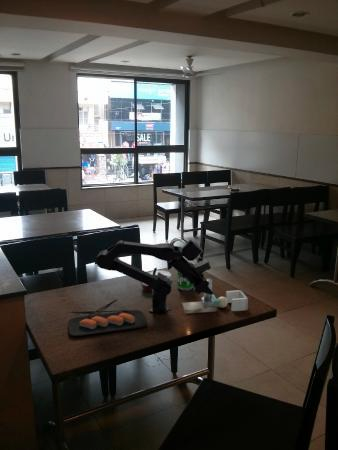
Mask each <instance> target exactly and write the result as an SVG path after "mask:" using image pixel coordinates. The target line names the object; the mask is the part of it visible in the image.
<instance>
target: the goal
mask: <svg viewBox="0 0 338 450" xmlns="http://www.w3.org/2000/svg"><path fill="white" fill-rule="evenodd" d="M225 298H226V299H227V301H228V303H227V304H230V303H231V308H230V309H231V312H240V311H248V308H249V306H248V305H249V298H248V297H247V296H246V294H245V293H244V292H243V291H242V290H239V289H237V290H227V291H225Z"/></svg>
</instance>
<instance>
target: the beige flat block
mask: <svg viewBox="0 0 338 450" xmlns="http://www.w3.org/2000/svg"><path fill="white" fill-rule="evenodd" d="M181 307H182V309H183V311H184V313H185V314H196V313H197V314H199V313H211V312H218V308H217V307H218V306H217V307H214V306H210V307H204V306H203V305H202V303H201V301H190V302H181Z"/></svg>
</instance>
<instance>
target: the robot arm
mask: <svg viewBox="0 0 338 450" xmlns="http://www.w3.org/2000/svg"><path fill="white" fill-rule="evenodd" d="M203 252H204V251H203V248H202V247H201V246H200V245H199V244H198V243H196V242H195V241H193V240H192V239H188V241H187V242H186V243H185V245H183V246H177V245H173V244H171V243H169V242H165V243H164V242H163V243H156V244H150V243H141V242H133V241H127V240H126V241H125V240H118V241H117V242H116V243H115V244H113V245H110V246H109V247H108V248H107V249H103V250H100V251H99V253H98V255H97V257H96V259H95V260H96V261H95V263H96V266H97V267H98V268H100V269H102V270H106V271H113V272H115V271H116V272H118V273H121V274H122V275H124V276H127V277H129V278H131V279H133V280H135V281H138V282H140V283H141V282H142V283H144V284H147V285H148V286H150V287H151V288H152V292H151V297H152V298H151V304H152V305H151V306H152V307H151V308H150V309H149V310H148V312H149V313H153V314H157V315H158V314H159V315H164V314H165V313H167V312H168V311H169V310H170V307H168V306H167V297H168V295H170V294H171V292H172V282H171V281H172V280H171V281H170V279H169V278H167V276H166V275H163V274H161V273H159V272H158V275H152V274H150V272H147V271H145V270H143V269H141V268H138V267H137V266H134V265H132V264H130V263H128V262H126V261H123V260H121V259H120V258H119V256H120V255H122V253H125V254H134V255H142V256H151V257H154V258H156V259H158V260H162V261H165V262H166V266H167V270H168V271H170V270H171V269H172V268H173V269H174V270H176V271H177V273H178V272H179V273H180V274H181V275H182V277H183V278H186V279H187V280H188V281H189V283H190V284H191V285H192V284H193V288H192V289H193V291H194V293H195V294H197V295H198V296H199V295H201V294H202V293H203V294H204V293H207V294H210V295H214V292H213V290H212V291H211V289H210V288H209V287H208V285H209V282H208V281H207V279H206V277H204V272H206V271H209V270H210V269H212V267H211V265H210V263H209V260H208V259H207V258H205V257H204V258H203V257H201V256H199V255H200V254H202V253H203ZM194 260H196V262H195V263H194V264H193V263H192V262H191V261H194ZM189 262H190V263H189Z"/></svg>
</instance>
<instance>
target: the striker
mask: <svg viewBox="0 0 338 450" xmlns="http://www.w3.org/2000/svg"><path fill="white" fill-rule="evenodd" d="M205 279H207V281H208V282H209V285H208V287H209V288H210V289H211V291H212V292H213V279H212V278H206V277H205ZM217 299H218V298H217V297H216V296H215V294H212V295H210V294H207V293H203V296H202V297H200V302H201V303H202V305H203V306H204V307H210V306H214V307H218V305H217V304H218V300H217Z"/></svg>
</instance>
